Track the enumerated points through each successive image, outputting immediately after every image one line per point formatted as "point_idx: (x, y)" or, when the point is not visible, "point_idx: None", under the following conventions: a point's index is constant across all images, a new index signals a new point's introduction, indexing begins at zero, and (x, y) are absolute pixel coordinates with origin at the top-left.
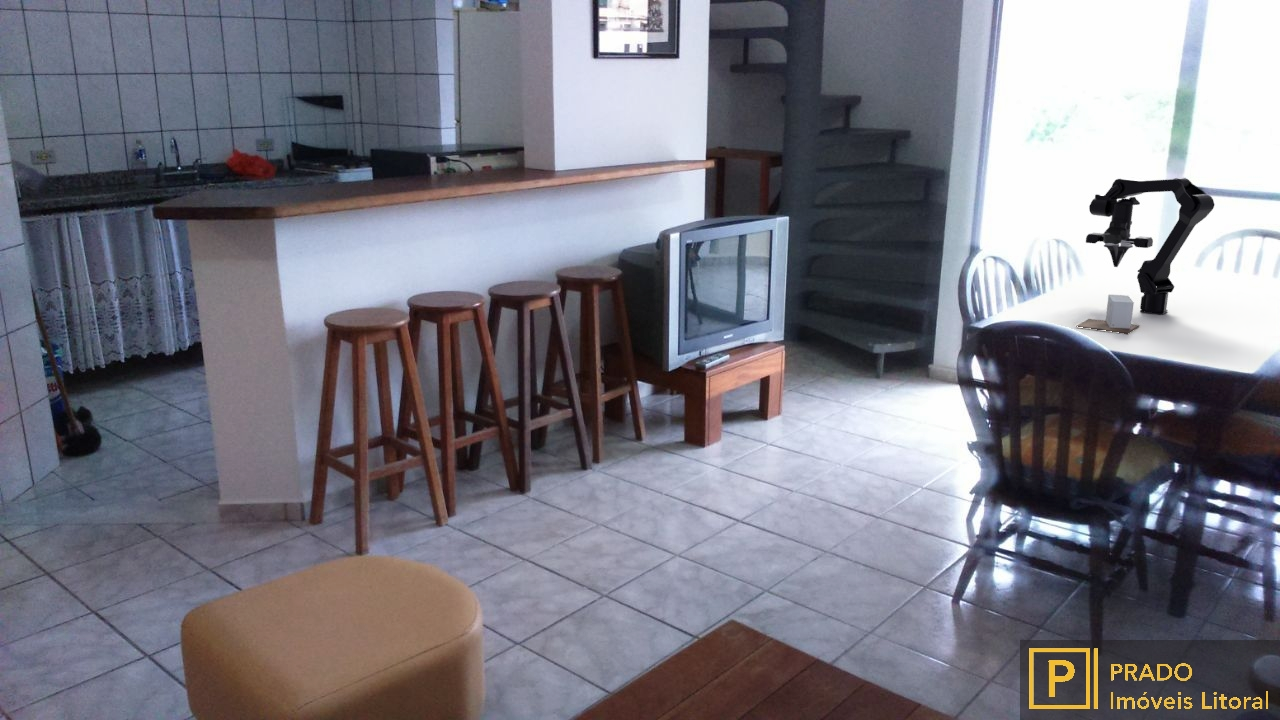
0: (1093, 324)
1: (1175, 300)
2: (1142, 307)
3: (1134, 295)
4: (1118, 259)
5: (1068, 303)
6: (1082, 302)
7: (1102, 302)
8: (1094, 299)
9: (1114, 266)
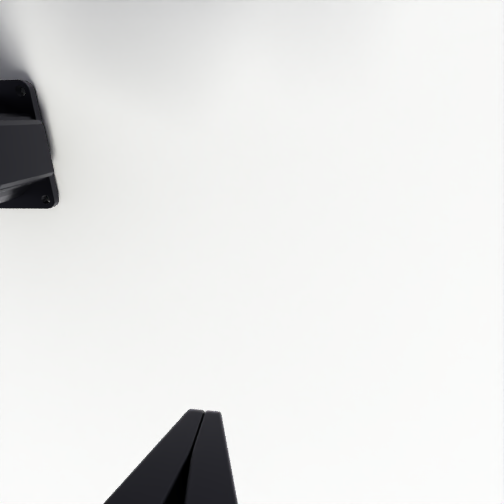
0: None
1: (70, 459)
2: (20, 115)
3: None
4: (129, 493)
5: (480, 93)
6: (400, 188)
7: (299, 256)
8: (356, 312)
9: (214, 413)
